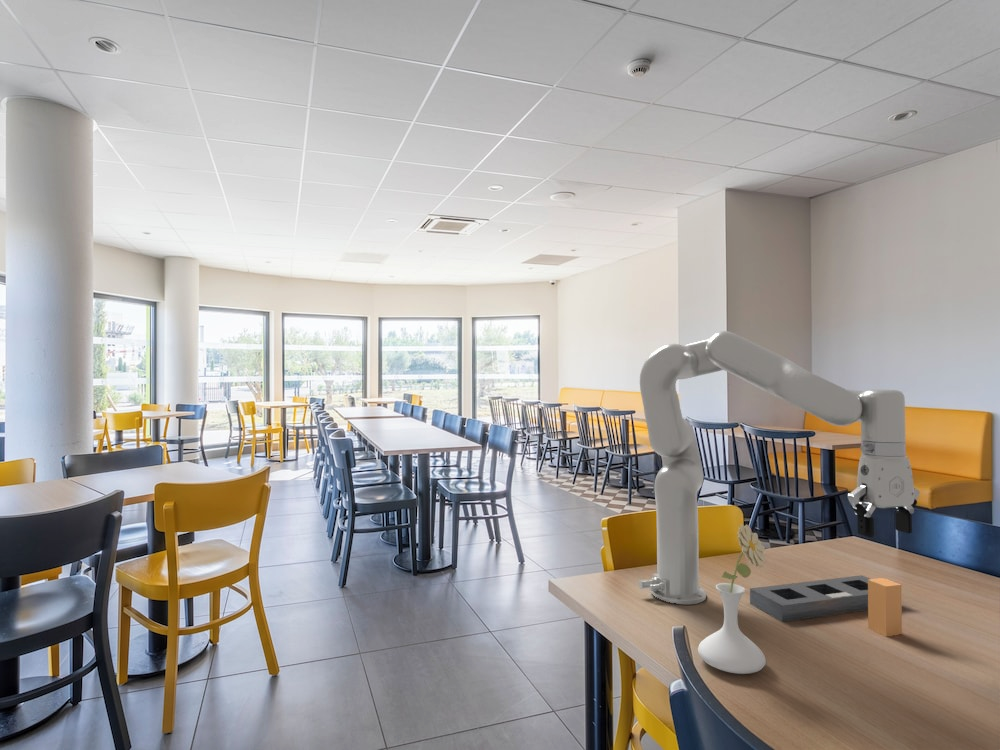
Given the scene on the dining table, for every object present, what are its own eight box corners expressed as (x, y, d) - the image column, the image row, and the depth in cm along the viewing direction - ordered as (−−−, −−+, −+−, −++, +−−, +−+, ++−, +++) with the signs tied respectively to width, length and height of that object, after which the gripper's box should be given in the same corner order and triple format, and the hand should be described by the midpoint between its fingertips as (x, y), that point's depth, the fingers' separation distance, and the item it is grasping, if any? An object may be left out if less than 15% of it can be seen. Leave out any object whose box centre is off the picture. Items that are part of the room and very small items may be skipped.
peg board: (782, 622, 118) (782, 604, 118) (750, 603, 128) (749, 587, 128) (900, 605, 126) (900, 589, 126) (861, 589, 136) (861, 574, 136)
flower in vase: (732, 687, 93) (730, 538, 94) (684, 656, 104) (683, 522, 104) (787, 670, 99) (786, 529, 99) (736, 642, 109) (735, 515, 109)
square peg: (886, 636, 111) (885, 586, 111) (868, 628, 115) (867, 579, 115) (901, 634, 112) (901, 584, 112) (883, 625, 116) (883, 577, 116)
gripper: (865, 454, 108) (867, 542, 108) (934, 450, 113) (935, 535, 112) (833, 449, 115) (835, 532, 115) (898, 446, 120) (900, 525, 120)
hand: (884, 533), depth 114 cm, fingers open, 9 cm apart
